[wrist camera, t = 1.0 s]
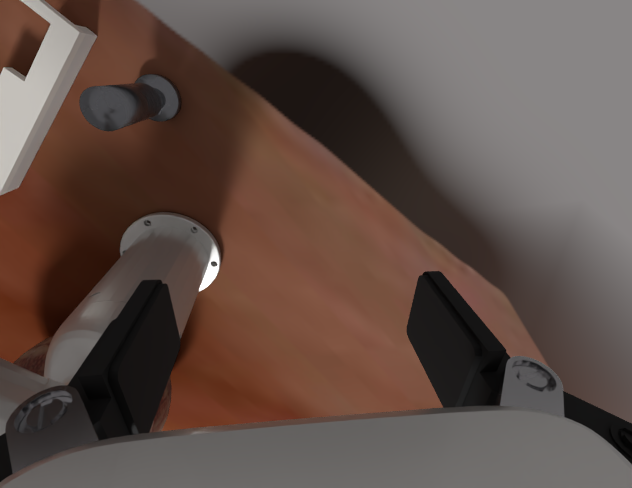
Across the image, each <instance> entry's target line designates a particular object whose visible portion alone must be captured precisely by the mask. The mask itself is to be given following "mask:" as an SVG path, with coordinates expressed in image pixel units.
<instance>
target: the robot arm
mask: <svg viewBox="0 0 632 488" xmlns="http://www.w3.org/2000/svg"><path fill="white" fill-rule="evenodd" d="M194 227H196V228H194ZM120 255H121V257H120V258H119V259H118V261H117V262H116V263H115V264H114V265H113V266H112V267H111V269H110V270H109V271H108V272H107V273H106V274H105V275H104V277H103V278H102V279H101V280H100V281H99V282H98V283H97V285H96V286H95V287H94V288H93V289H92V290H91V291H90V293H89V294H88V295H87V296H86V297H85V298H84V299H83V301H82V302H81V303H80V304H79V305H78V306H77V307H76V309H75V310H74V311H73V312H72V313H71V314H70V315H69V316H68V318H67V319H66V320H65V321H64V322H63V323H62V325H61V326H60V327H59V329H58V330H57V331H56V333H55V335H54V337H53V339H52V341H51V343H50V345H49V349H48V352H47V355H46V360H45V368H44V377H43V376H40V375H38V374H36V373H33V372H31V371H29V370H27V369H24V368H22V367H20V366H18V365H15V364H13V363H11V362H8V361H6V360H4V359H2V358H0V488H632V424H631V423H629V422H627V421H625V420H623V419H621V418H619V417H617V416H615V415H612V414H610V413H608V412H606V411H604V410H602V409H600V408H598V407H596V406H594V405H591V404H589V403H587V402H585V401H583V400H581V399H579V398H577V397H575V396H573V395H570V394H568V393H566V392H564V391H563V386H562V383H561V380H560V379H559V377H558V376H557V375H556V374H555V373H554V372H553V371H552V370H551V369H550V368H549V367H547V366H546V365H544V364H543V363H541V362H539V361H537V360H535V359H532V358H528V357H523V356H515V357H512V358H510V356H509V355H508V354H507V353H506V349H505V348H504V347H503V345H502V344H501V343H500V342H499V341H498V339H497V338H496V337H495V336H494V335H493V333H492V332H491V331H490V330H489V329H488V328H487V326H486V325H485V324H484V323H483V322H482V320H481V319H480V318H479V317H478V316H477V314H476V313H475V312H474V311H473V310H472V308H471V307H470V306H469V305H468V304H467V302H466V301H465V300H464V299H463V298H462V296H461V295H460V294H459V293H458V292H457V290H456V289H455V288H454V287H453V286H452V284H451V283H450V282H449V281H448V280H447V278H446V277H445V276H444V275H443V274H442V273H441V272H440V271H430V272H424V273H423V275H421V276H419V278H418V282H417V286H416V290H415V295H414V299H413V303H412V307H411V312H410V316H409V320H408V325H407V335H408V338H409V340H410V342H411V344H412V346H413V348H414V350H415V352H416V354H417V356H418V358H419V360H420V362H421V364H422V366H423V368H424V370H425V372H426V374H427V376H428V378H429V380H430V382H431V384H432V386H433V388H434V390H435V392H436V394H437V396H438V398H439V400H440V402H441V404H442V405H443V407H444V408H432V409H419V410H406V411H393V412H379V413H366V414H354V415H342V416H329V417H317V418H305V419H293V420H281V421H269V422H257V423H246V424H235V425H223V426H212V427H200V428H190V429H180V430H171V431H161V432H152V427H153V422H154V418H155V415H156V413H157V410H158V407H159V404H160V402H161V399H162V396H163V393H164V391H165V388H166V385H167V382H168V380H169V377H170V374H171V371H172V368H173V366H174V363H175V360H176V357H177V355H178V352H179V349H180V339H181V336H182V334H183V331H184V329H185V326H186V323H187V321H188V318H189V315H190V313H191V310H192V308H193V305H194V302H195V300H196V297H197V294H198V292H200V291H202V290H203V289H205V288H207V287H208V286H209V285H210V284H211V283H212V282H213V281H214V279H215V278H216V277H217V274H218V272H219V269H220V265H221V252H220V248H219V245H218V243H217V241H216V239H215V238H214V236H213V235H212V234H211V233H210V231H209V230H208V229H207V228H206V227H204V226H203V225H202V224H200V223H199V222H197V221H196V220H194V219H192V218H190V217H187V216H184V215H181V214H177V213H170V212H158V213H152V214H148V215H146V216H143V217H141V218H139V219H138V220H136V221H135V222H133V223H132V224H131V225H130V226H129V227H128V228H127V230H126V231H125V233H124V234H123V236H122V239H121V242H120ZM214 261H215V262H214Z"/></svg>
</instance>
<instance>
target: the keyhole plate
mask: <svg viewBox="0 0 632 488" xmlns="http://www.w3.org/2000/svg"><path fill="white" fill-rule="evenodd" d="M21 1H22V2H23V3H25V4H26V5H27V6H29V7H30V8H31V9H32V10H34V11H35V12H36V13H38V14H39V15H40V16H41V17H43V18H44V19H45V20H47V21H48V22H49V23H50V24H51V25H50V27H49V29H48V31H47V33H46V36H45V38H44V40H43V42H42V44H41V46H40V49H39V51H38V53H37V55H36V57H35V59H34V62H33V64H32V66H31V68H30V70H29V72H28V75H27V77H25V76H23V75H22V74H21V73H19V72H18V71H16V70H15V69H13V68H10V67H4V68H3V70H2V72H1V75H0V195H3V194H5V193H7V192H10V191H12V190H14V189H16V188H19V186H20V184H21V182H22V180H23V179H24V177H25V175H26V173H27V171H28V169H29V167H30V165H31V163H32V161H33V159H34V157H35V155H36V153H37V151H38V150H39V148H40V146H41V144H42V142H43V140H44V138H45V136H46V134H47V132H48V130H49V128H50V126H51V124H52V123H53V121H54V119H55V117H56V115H57V113H58V111H59V109H60V107H61V105H62V103H63V101H64V99H65V97H66V96H67V94H68V92H69V90H70V88H71V86H72V84H73V82H74V80H75V78H76V76H77V74H78V72H79V70H80V69H81V67H82V65H83V63H84V61H85V59H86V57H87V55H88V53H89V51H90V49H91V47H92V45H93V43H94V42H95V40H96V38H97V35H95V34H94V33H93V32H92V31H91V30H89V29H88V28H87V27H82V26H78V25H74V24H73V23H72V22H71V21H69V20H68V19H67V18H66V17H64V16H63V15H62V14H61V13H59V12H58V11H57V10H56V9H54V8H53V7H52V6H51V5H49V4H48V3H47V2H46V1H44V0H21Z"/></svg>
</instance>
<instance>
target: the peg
mask: <svg viewBox="0 0 632 488" xmlns="http://www.w3.org/2000/svg"><path fill="white" fill-rule="evenodd" d="M180 107H181V97H180V93H179V91H178V89H177V87H176V86H175V85H174V84H173V83H172V82H171V81H170V80H169V79H168V78H166V77H164V76H161V75H157V74H148V75H143V76H141V77H140V78H138V79H137V80H136V82H135V83H134V84H121V85H108V86H94V87H89V88H87V89H86V90H84V91H83V93H82V94H81V96H80V108H81V111H82V114H83V115H84V117H85V118H86V120H87V121H88V122H89V123H90V124H92V125H93V126H94V127H96V128H98V129H100V130H104V131H114V130H117V129H120V128H123V127H126V126H129V125H132V124H134V123H137V122H140V121H143V120H146V119H151V120H154V121H166V120H169V119H171V118H173V117H175V116H176V115H177V114H178V112H179V110H180Z"/></svg>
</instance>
